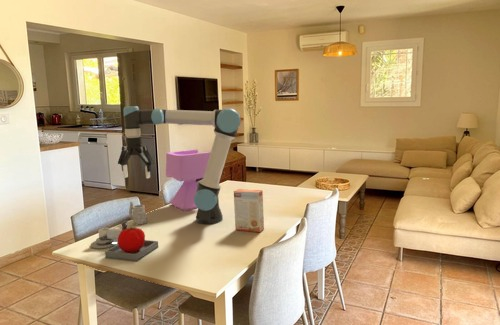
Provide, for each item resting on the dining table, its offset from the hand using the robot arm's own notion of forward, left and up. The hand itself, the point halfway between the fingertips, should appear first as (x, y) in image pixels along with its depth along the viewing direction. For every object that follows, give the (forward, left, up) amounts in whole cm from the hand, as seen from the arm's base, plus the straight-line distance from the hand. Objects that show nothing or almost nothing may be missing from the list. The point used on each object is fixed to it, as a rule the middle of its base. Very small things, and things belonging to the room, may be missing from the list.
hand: (136, 177), depth 195 cm
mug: (+11, -12, -29) cm, 33 cm away
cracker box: (-56, -14, -29) cm, 65 cm away
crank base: (+6, +21, -29) cm, 36 cm away
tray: (-14, +27, -29) cm, 42 cm away
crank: (+1, +20, -26) cm, 33 cm away
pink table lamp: (-2, -53, -29) cm, 60 cm away
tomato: (-14, +27, -28) cm, 41 cm away
